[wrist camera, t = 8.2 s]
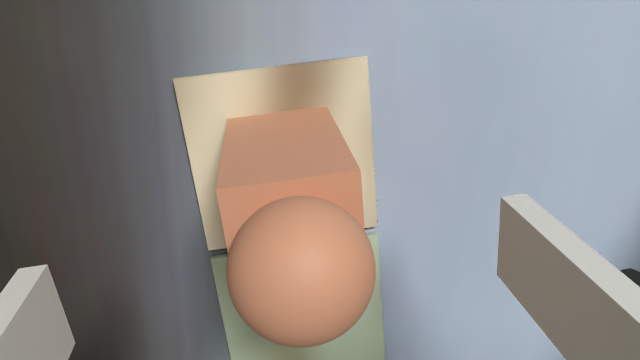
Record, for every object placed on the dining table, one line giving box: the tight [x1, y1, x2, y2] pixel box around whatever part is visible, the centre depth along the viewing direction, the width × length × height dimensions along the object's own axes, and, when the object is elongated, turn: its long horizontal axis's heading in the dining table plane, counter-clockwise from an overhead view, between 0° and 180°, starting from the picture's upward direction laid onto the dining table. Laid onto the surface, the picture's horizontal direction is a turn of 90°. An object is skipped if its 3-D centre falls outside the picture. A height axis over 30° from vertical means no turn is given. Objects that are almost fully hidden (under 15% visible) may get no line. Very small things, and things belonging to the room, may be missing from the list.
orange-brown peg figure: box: [216, 106, 376, 348], centre depth 19 cm, size 4×4×12 cm
